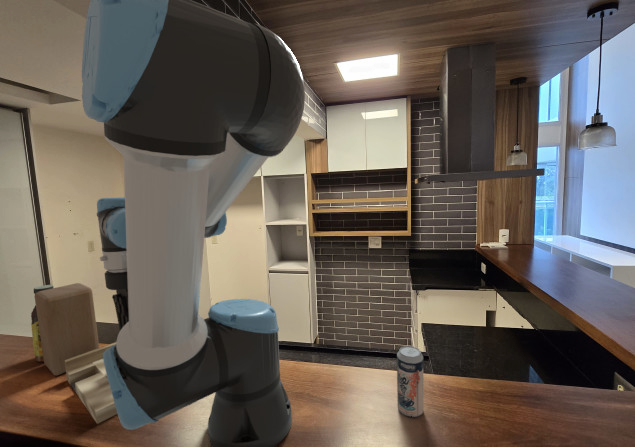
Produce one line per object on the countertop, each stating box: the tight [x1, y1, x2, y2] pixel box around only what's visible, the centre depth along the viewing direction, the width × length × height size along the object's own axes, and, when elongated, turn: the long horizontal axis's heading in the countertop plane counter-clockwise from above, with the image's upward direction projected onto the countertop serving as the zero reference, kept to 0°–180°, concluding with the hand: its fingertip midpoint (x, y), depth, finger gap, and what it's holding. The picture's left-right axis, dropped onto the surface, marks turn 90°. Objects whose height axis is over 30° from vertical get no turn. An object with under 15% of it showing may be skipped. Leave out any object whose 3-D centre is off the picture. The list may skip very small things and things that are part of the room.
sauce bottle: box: [30, 284, 54, 363], centre depth 84 cm, size 7×6×20 cm
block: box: [34, 282, 100, 376], centre depth 81 cm, size 10×10×20 cm
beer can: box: [396, 345, 424, 418], centre depth 59 cm, size 5×5×12 cm
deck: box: [64, 341, 118, 425], centre depth 71 cm, size 23×12×5 cm, turn 50°
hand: (135, 368), depth 70 cm, fingers closed
